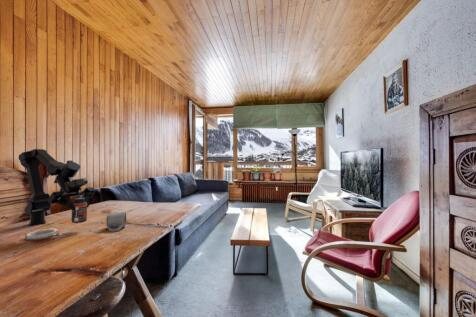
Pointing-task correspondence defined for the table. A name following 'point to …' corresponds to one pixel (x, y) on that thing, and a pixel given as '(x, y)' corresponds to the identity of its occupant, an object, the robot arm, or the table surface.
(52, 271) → the table surface
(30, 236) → the ring seat
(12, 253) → the table surface
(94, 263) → the table surface
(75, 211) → the supplement bottle
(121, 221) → the ceramic mug
